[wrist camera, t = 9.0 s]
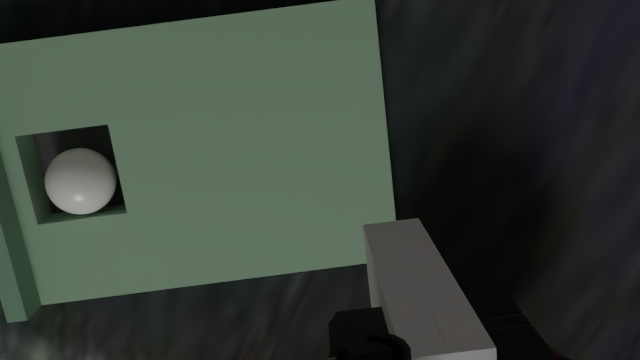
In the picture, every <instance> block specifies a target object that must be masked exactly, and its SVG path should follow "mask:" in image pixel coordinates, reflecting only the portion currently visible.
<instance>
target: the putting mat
mask: <svg viewBox="0 0 640 360" xmlns="http://www.w3.org/2000/svg"><path fill="white" fill-rule="evenodd" d="M75 148H86V149H91V150H94V151H96V152H98V153H100V154H102V155H103V156H104V157H105V158H106V159H107V160H108V161H109V162H110V163H111V165H112V167H113V169H114V171H115V174H116V188H115V192H114V194H113V196H112V198H111V199H110V201H109V202H108V203H107V204H106V205H105V206H104V207H102V208H101V209H99V210H97V211H95V212H93V213H89V214H72V213H68V212H66V211H63V210H61V209H60V208H58V207H57V206H56V205H55V204H54V203H53V202H52V201H51V200H50V198H49V196H48V194H47V192H46V189H45V174H46V171H47V168H48V166H49V165H50V163H51V162H52V161H53V159H54V158H56V157H57V156H58V155H59V154H61V153H63V152H65V151H67V150H70V149H75ZM390 221H396V216H395V206H394V196H393V185H392V175H391V165H390V154H389V144H388V134H387V124H386V113H385V103H384V93H383V83H382V72H381V62H380V52H379V42H378V31H377V21H376V11H375V0H336V1H329V2H321V3H313V4H306V5H298V6H290V7H282V8H275V9H267V10H259V11H251V12H244V13H236V14H228V15H221V16H213V17H205V18H197V19H190V20H182V21H174V22H166V23H159V24H151V25H143V26H136V27H128V28H120V29H112V30H105V31H97V32H89V33H81V34H74V35H66V36H58V37H51V38H43V39H35V40H27V41H20V42H12V43H4V44H0V299H1V302H2V306H3V309H4V313H5V316H6V320H7V323H11V322H18V321H26V320H28V319H29V318H30V317H31V316H32V315H33V314H34V313H35V312H36V310H37V309H38V308H39V307H40V306H41V305H47V304H54V303H62V302H70V301H78V300H85V299H93V298H101V297H109V296H116V295H124V294H132V293H140V292H147V291H155V290H163V289H171V288H178V287H186V286H194V285H202V284H209V283H217V282H225V281H233V280H240V279H248V278H256V277H264V276H271V275H279V274H287V273H295V272H302V271H310V270H318V269H326V268H333V267H341V266H349V265H357V264H364V263H367V261H366V251H365V242H364V232H363V225H365V224H373V223H381V222H390Z"/></svg>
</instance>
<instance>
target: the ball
mask: <svg viewBox="0 0 640 360" xmlns="http://www.w3.org/2000/svg"><path fill="white" fill-rule="evenodd" d="M115 188H116V174H115V171H114V169H113V167H112V165H111V163H110V162H109V161H108V160H107V159H106V158H105V157H104V156H103V155H102V154H100V153H98V152H96V151H94V150H91V149H86V148H75V149H70V150H67V151H65V152H63V153H61V154H59V155H58V156H57V157H56V158H54V159H53V161H52V162H51V163H50V165H49V166H48V168H47V171H46V174H45V189H46V192H47V194H48V196H49V198H50V200H51V201H52V202H53V203H54V204H55V205H56V206H57V207H58V208H60V209H61V210H63V211H66V212H68V213H72V214H89V213H93V212H95V211H97V210H99V209H101V208H102V207H104V206H105V205H106V204H107V203H108V202H109V201H110V199H111V198H112V196H113V194H114V192H115Z"/></svg>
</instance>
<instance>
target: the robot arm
mask: <svg viewBox="0 0 640 360" xmlns="http://www.w3.org/2000/svg"><path fill="white" fill-rule="evenodd" d="M363 232H364V242H365V251H366V261H367V270H368V280H369V290H370V299H371V308H364V309H356V310H348V311H340V312H336V314H335V315H334V317H333V318H332V320H331V321H330V323H329V324H328V325H329V337H330V348H331V350H330V353H329V357H328V360H570V359H568V358H566V357H562V356H556V355H554V353H553V352H552V351H551V349H550V348H549V347H548V345H547V344H546V343H545V342H544V340H543V339H542V338H541V336H540V335H539V334H538V332H537V331H536V330H535V328H534V327H533V326H531V325H530V322H529V321H528V319H527V318H526V317H525V315H523V313H522V311H521V310H520V309H519V308H518V306H517V305H516V304H515V302H514V301H513V300H511V299H510V298H508V297H506V296H504V295H502V294H500V293H498V292H497V291H491V292H482V293H474V294H466V295H464V293H463V292H462V290H461V288H460V287H459V285H458V283H457V282H456V280H455V278H454V277H453V275H452V273H451V272H450V270H449V268H448V267H447V265H446V263H445V262H444V260H443V258H442V257H441V255H440V253H439V252H438V250H437V248H436V247H435V245H434V243H433V242H432V240H431V238H430V237H429V235H428V233H427V232H426V230H425V228H424V227H423V225H422V223H421V222H420V220H419V218H414V219H406V220H398V221H390V222H381V223H373V224H365V225H363Z"/></svg>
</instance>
